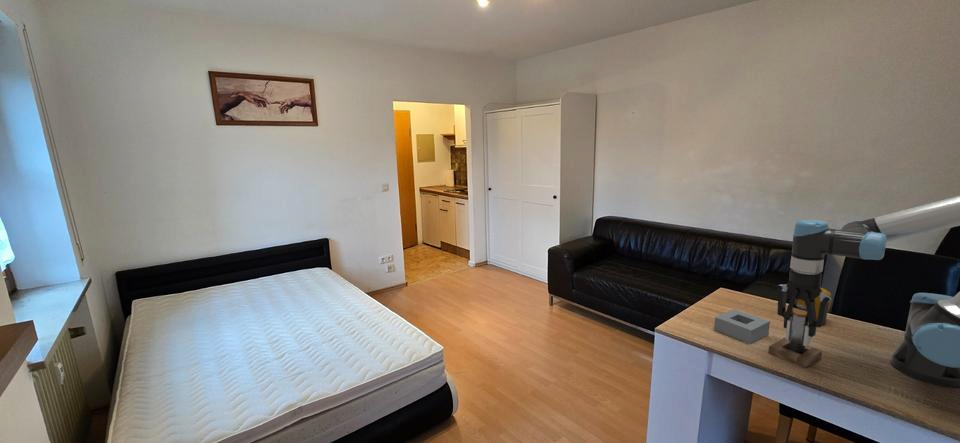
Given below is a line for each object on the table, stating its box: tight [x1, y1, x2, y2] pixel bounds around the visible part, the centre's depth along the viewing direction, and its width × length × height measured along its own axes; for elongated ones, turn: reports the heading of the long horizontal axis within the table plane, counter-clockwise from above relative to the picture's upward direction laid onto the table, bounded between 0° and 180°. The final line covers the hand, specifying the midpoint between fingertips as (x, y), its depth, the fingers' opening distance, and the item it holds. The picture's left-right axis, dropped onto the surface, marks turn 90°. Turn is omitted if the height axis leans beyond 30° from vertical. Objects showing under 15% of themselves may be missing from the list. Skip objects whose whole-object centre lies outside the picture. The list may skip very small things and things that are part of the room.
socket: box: [713, 308, 771, 345], centre depth 137 cm, size 12×12×5 cm
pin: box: [789, 305, 809, 354], centre depth 120 cm, size 5×5×15 cm
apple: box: [797, 287, 833, 318], centre depth 144 cm, size 11×11×13 cm
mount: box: [767, 337, 823, 369], centre depth 122 cm, size 10×10×2 cm
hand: (797, 341), depth 121 cm, fingers closed on pin, 4 cm apart
